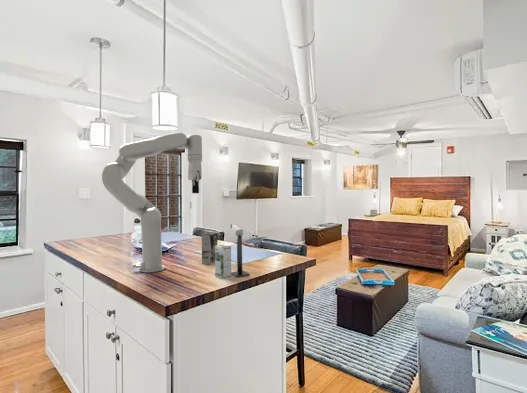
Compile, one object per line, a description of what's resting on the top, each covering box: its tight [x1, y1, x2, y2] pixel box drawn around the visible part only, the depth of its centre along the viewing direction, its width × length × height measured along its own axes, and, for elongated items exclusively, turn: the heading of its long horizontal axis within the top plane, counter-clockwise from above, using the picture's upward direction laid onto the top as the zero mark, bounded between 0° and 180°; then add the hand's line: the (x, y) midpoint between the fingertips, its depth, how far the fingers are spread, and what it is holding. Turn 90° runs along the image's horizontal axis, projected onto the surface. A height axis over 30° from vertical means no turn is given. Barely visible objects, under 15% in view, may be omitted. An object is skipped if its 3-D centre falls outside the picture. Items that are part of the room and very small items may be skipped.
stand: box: [231, 235, 250, 278], centre depth 151 cm, size 7×7×19 cm
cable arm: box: [230, 223, 244, 236], centre depth 162 cm, size 27×4×2 cm, turn 12°
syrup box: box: [214, 244, 232, 279], centre depth 150 cm, size 6×6×14 cm
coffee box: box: [201, 232, 218, 265], centre depth 178 cm, size 9×6×16 cm
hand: (195, 193), depth 168 cm, fingers closed
